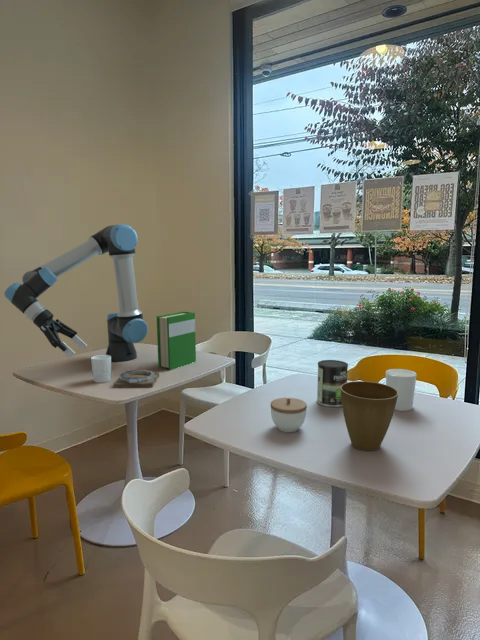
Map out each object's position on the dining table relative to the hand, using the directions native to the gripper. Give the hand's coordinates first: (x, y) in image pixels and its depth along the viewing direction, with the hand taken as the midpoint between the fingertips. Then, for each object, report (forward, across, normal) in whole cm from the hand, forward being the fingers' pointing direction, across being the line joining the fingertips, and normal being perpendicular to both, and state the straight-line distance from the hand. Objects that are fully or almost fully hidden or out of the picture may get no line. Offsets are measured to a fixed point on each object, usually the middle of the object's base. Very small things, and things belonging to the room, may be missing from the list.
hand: (79, 351), depth 175 cm
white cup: (+15, -1, -3) cm, 15 cm away
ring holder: (+25, +1, +8) cm, 27 cm away
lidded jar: (+65, +49, +48) cm, 95 cm away
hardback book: (+35, -25, +17) cm, 46 cm away
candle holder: (+93, +32, +76) cm, 125 cm away
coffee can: (+78, +27, +60) cm, 102 cm away
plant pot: (+79, +61, +62) cm, 118 cm away
